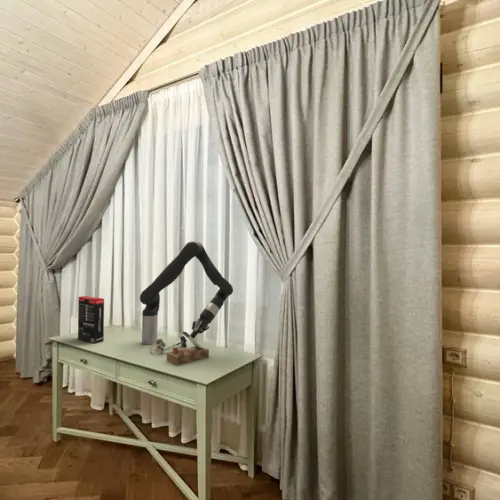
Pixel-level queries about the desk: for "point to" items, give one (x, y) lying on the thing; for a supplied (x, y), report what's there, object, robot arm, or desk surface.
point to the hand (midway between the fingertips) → (191, 337)
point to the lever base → (186, 355)
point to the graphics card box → (91, 319)
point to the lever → (192, 340)
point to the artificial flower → (160, 345)
